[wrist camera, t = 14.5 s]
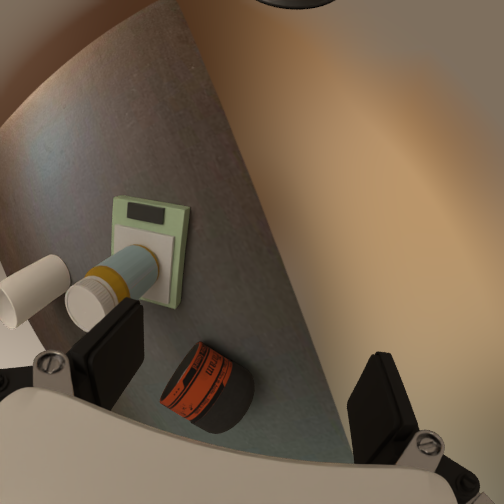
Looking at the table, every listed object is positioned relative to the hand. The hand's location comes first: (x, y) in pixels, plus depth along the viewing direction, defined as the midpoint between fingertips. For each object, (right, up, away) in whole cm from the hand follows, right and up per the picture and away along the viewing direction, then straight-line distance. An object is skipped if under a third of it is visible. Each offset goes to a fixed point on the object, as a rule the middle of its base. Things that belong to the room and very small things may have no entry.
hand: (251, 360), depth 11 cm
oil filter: (-6, -17, +41) cm, 45 cm away
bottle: (-17, +2, +32) cm, 37 cm away
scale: (-16, +5, +35) cm, 39 cm away
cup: (-39, 0, +40) cm, 56 cm away
